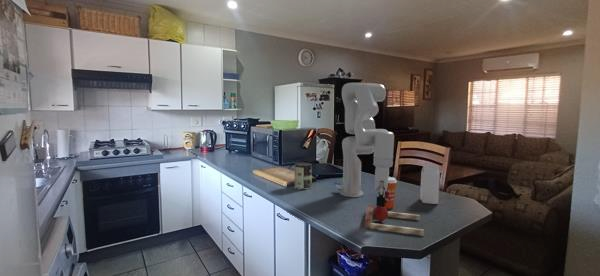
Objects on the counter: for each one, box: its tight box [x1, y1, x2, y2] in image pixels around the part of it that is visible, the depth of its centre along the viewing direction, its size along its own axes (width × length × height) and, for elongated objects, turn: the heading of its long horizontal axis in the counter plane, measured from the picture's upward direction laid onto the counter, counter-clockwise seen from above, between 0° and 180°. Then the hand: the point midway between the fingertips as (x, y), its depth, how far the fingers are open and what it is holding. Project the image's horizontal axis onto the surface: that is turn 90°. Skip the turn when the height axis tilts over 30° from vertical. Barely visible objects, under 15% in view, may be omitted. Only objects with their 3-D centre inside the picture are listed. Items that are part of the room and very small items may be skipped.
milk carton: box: [419, 163, 441, 205], centre depth 144 cm, size 7×7×19 cm
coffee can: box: [293, 162, 313, 190], centre depth 168 cm, size 10×10×14 cm
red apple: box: [373, 206, 389, 223], centre depth 118 cm, size 6×6×8 cm
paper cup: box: [385, 176, 398, 210], centre depth 136 cm, size 8×8×14 cm
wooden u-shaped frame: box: [364, 204, 425, 236], centre depth 117 cm, size 21×16×4 cm
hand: (380, 202), depth 118 cm, fingers open, 9 cm apart
